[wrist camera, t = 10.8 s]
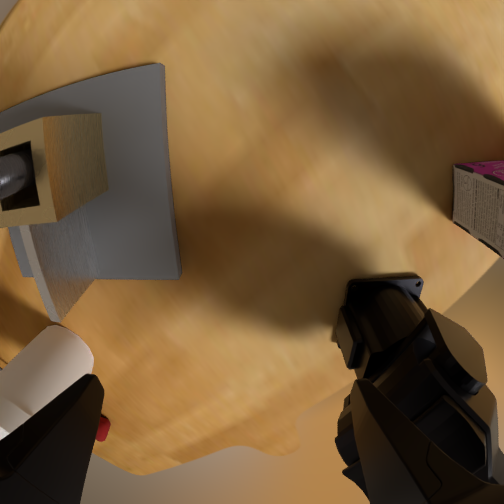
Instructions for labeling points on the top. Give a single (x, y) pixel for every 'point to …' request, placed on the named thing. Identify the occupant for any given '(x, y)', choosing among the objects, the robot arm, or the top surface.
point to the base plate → (120, 171)
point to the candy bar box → (480, 202)
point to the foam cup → (41, 374)
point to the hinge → (58, 203)
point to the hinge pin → (16, 172)
